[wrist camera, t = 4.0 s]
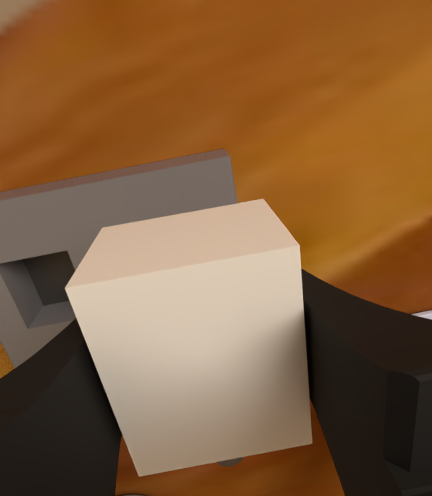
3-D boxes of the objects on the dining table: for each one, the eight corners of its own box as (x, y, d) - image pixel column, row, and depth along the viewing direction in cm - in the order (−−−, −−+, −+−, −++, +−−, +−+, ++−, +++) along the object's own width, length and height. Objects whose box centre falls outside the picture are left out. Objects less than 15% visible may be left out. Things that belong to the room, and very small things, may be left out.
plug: (272, 359, 15) (315, 488, 10) (164, 380, 15) (155, 519, 10) (251, 183, 12) (299, 245, 7) (114, 207, 12) (64, 288, 7)
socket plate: (249, 305, 22) (257, 329, 20) (36, 347, 22) (19, 376, 20) (224, 148, 18) (230, 155, 16) (-37, 199, 18) (-69, 214, 16)
